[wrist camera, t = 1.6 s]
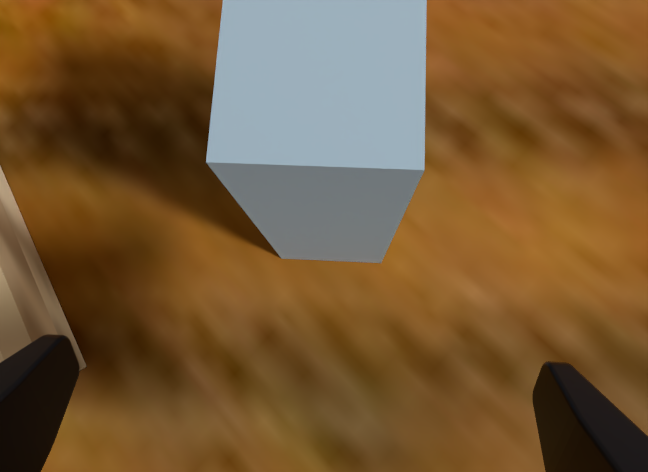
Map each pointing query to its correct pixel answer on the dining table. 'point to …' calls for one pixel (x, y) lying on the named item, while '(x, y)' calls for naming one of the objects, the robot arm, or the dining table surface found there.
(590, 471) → the robot arm
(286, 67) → the light blue block
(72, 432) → the dining table surface
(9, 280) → the channel
